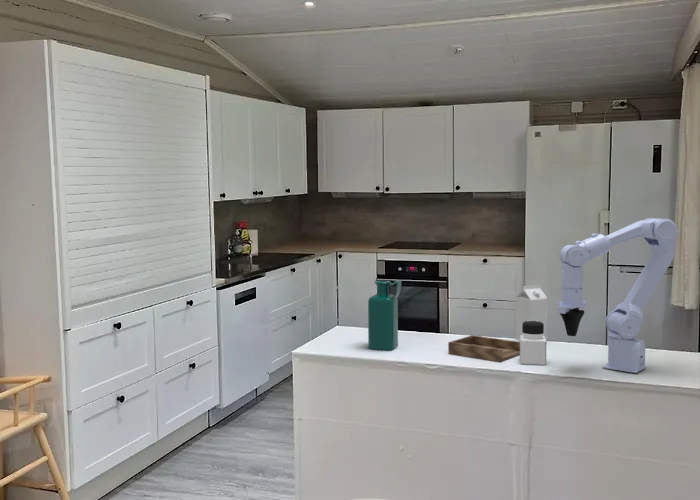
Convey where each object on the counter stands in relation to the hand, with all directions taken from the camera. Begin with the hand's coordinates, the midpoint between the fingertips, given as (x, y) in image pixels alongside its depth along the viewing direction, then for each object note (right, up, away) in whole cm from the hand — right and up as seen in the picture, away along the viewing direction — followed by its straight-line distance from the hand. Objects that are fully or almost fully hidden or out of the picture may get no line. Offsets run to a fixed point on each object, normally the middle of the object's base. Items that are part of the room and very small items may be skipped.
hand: (571, 335), depth 199 cm
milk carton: (-2, -7, +35) cm, 36 cm away
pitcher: (-51, -8, +28) cm, 59 cm away
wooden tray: (-21, -8, +19) cm, 29 cm away
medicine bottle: (-9, -9, +8) cm, 15 cm away
